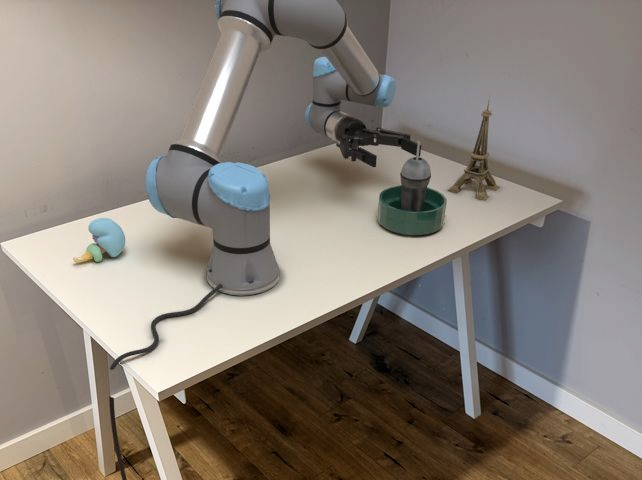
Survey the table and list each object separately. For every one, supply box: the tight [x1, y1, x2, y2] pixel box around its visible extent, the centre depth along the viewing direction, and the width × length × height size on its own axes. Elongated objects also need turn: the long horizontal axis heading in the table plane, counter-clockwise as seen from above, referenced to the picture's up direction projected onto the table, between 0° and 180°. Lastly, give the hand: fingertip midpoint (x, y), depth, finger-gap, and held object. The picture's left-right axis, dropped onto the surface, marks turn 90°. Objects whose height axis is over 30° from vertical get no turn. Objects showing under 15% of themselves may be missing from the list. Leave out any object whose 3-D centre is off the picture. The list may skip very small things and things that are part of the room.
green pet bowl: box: [376, 184, 447, 236], centre depth 164 cm, size 16×16×6 cm
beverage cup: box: [399, 140, 432, 212], centre depth 159 cm, size 7×7×20 cm
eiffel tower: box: [447, 95, 500, 201], centre depth 176 cm, size 11×11×25 cm
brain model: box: [72, 217, 126, 264], centre depth 147 cm, size 7×9×12 cm
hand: (397, 156), depth 162 cm, fingers open, 13 cm apart
